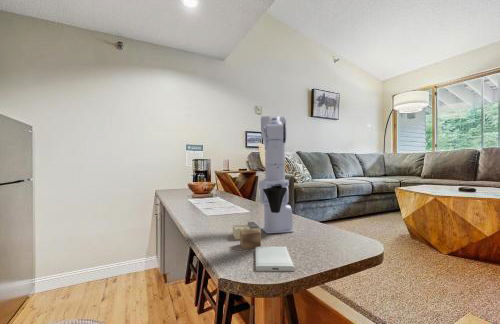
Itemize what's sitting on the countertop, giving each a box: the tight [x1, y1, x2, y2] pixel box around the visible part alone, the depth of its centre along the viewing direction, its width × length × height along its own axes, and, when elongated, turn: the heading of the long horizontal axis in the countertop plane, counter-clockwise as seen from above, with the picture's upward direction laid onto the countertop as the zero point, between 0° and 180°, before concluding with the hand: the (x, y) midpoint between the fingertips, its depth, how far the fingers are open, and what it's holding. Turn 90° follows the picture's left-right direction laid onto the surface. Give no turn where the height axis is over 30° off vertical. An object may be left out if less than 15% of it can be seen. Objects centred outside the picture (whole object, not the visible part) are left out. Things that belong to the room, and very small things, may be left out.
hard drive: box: [254, 246, 296, 272], centre depth 54 cm, size 2×8×12 cm
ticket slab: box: [232, 221, 262, 240], centre depth 74 cm, size 8×6×4 cm
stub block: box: [239, 230, 262, 250], centre depth 64 cm, size 5×4×4 cm
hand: (275, 212), depth 66 cm, fingers closed
